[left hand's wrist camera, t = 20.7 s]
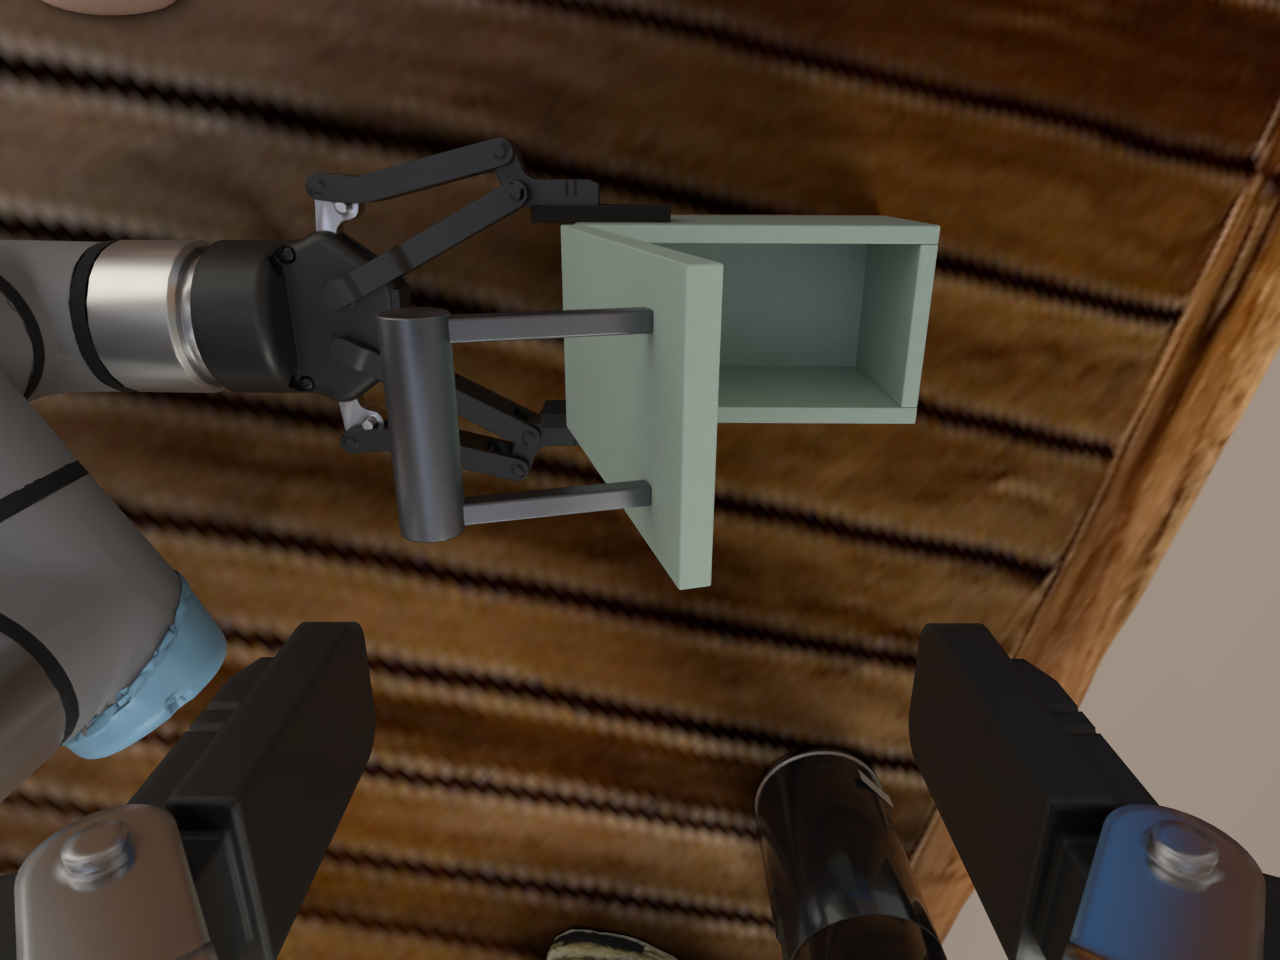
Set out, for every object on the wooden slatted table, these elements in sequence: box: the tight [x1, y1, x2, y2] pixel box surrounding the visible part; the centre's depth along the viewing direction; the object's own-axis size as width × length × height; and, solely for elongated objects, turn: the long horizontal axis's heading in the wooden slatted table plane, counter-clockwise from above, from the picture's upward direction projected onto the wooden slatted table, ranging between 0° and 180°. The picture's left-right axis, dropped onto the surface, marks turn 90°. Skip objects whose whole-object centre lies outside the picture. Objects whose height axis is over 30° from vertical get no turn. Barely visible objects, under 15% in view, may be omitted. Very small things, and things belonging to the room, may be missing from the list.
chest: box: [574, 214, 940, 424], centre depth 43 cm, size 17×9×10 cm, turn 90°
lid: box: [376, 225, 723, 590], centre depth 29 cm, size 17×9×9 cm
